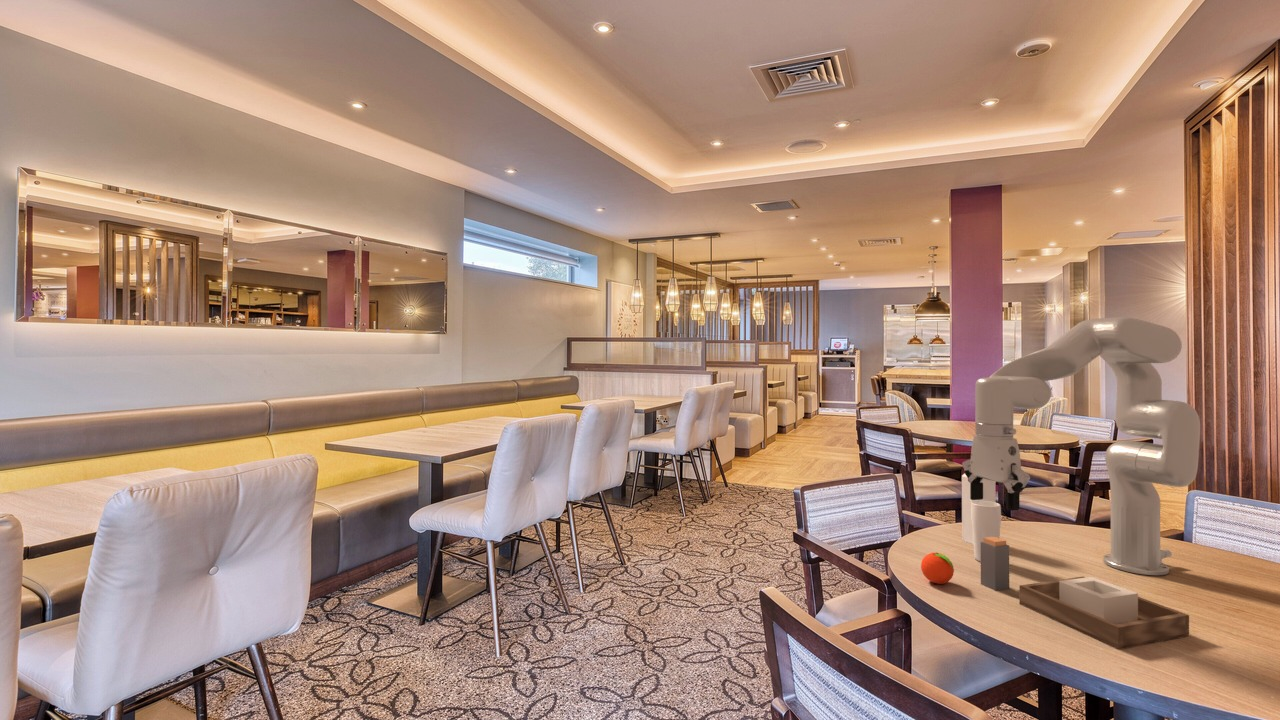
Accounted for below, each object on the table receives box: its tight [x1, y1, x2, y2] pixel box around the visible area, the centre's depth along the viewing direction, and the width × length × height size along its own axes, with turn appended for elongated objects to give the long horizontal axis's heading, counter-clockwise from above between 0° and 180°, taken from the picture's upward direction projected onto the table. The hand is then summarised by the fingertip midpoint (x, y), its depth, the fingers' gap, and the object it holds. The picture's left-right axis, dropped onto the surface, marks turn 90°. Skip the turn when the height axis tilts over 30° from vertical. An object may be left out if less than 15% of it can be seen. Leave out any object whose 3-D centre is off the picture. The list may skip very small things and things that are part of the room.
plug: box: [980, 537, 1010, 592], centre depth 133 cm, size 4×4×11 cm
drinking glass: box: [971, 500, 1002, 563], centre depth 150 cm, size 7×7×15 cm
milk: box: [961, 473, 997, 545], centre depth 164 cm, size 6×6×22 cm
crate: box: [1018, 576, 1190, 650], centre depth 116 cm, size 18×20×4 cm
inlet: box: [1059, 576, 1139, 624], centre depth 118 cm, size 9×9×5 cm
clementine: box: [920, 552, 955, 585], centre depth 135 cm, size 8×7×7 cm
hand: (994, 504), depth 133 cm, fingers open, 9 cm apart
